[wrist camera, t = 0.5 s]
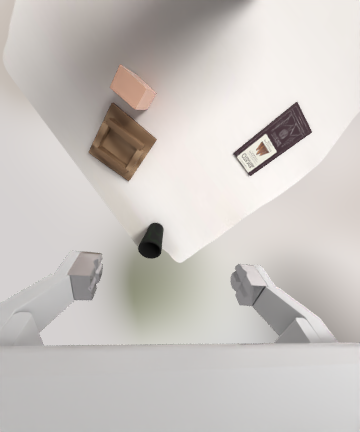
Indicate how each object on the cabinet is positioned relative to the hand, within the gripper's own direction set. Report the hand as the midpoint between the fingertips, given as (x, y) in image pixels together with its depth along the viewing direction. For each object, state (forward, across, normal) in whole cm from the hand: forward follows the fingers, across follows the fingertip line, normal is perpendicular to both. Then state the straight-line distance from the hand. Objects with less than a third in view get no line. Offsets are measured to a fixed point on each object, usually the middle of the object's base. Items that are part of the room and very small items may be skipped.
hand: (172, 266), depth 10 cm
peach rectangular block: (+46, +8, -12) cm, 48 cm away
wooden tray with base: (+48, +12, +2) cm, 49 cm away
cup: (+48, -1, +30) cm, 57 cm away
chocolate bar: (+42, -29, -7) cm, 51 cm away
